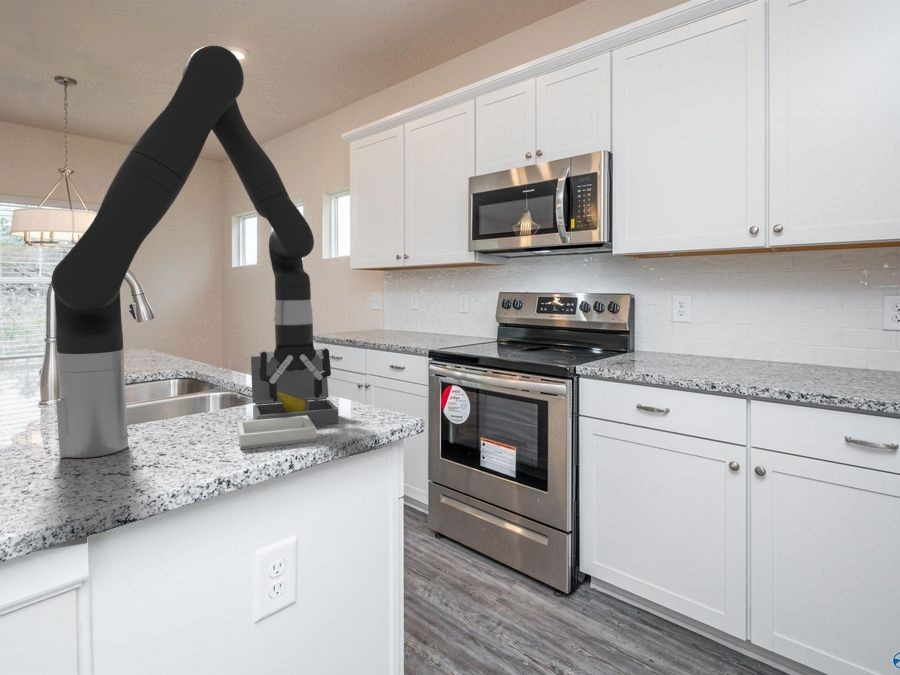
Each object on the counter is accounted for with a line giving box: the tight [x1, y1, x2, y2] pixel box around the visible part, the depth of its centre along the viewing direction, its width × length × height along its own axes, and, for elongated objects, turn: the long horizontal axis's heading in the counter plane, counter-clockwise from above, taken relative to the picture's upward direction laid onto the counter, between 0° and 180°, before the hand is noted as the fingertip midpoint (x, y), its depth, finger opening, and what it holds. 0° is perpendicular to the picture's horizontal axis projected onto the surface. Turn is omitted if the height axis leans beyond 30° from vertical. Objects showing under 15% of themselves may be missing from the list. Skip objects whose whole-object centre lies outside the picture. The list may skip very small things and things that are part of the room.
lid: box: [250, 354, 329, 405], centre depth 115 cm, size 16×10×1 cm
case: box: [252, 399, 339, 427], centre depth 110 cm, size 16×10×3 cm, turn 114°
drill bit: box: [277, 392, 311, 413], centre depth 109 cm, size 5×5×10 cm
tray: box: [237, 415, 317, 450], centre depth 98 cm, size 13×10×2 cm
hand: (296, 398), depth 109 cm, fingers open, 8 cm apart
